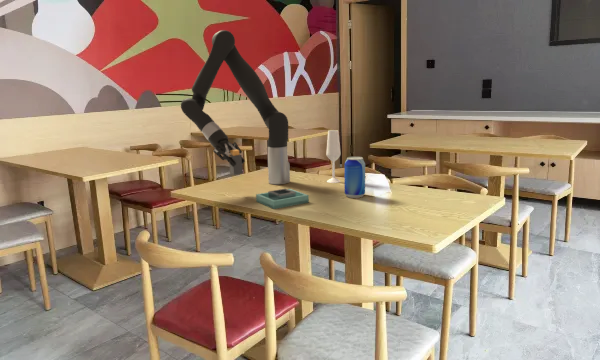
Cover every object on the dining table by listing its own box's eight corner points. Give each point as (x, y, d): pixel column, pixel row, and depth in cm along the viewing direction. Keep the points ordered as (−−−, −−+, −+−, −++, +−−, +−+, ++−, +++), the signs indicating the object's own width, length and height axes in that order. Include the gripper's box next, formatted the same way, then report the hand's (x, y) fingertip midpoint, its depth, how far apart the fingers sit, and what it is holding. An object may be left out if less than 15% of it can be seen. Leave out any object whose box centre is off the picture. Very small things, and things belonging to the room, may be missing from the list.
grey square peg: (238, 172, 211) (236, 149, 208) (242, 173, 207) (241, 150, 205) (230, 173, 209) (228, 150, 206) (234, 174, 205) (232, 151, 203)
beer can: (341, 197, 201) (341, 159, 198) (349, 192, 208) (349, 155, 205) (360, 199, 197) (360, 160, 194) (367, 194, 204) (368, 156, 201)
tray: (290, 195, 206) (289, 188, 205) (308, 202, 194) (308, 195, 193) (256, 201, 197) (256, 194, 196) (273, 209, 186) (273, 201, 185)
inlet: (285, 195, 201) (285, 188, 200) (296, 199, 194) (295, 192, 194) (268, 198, 197) (268, 191, 196) (278, 202, 190) (278, 195, 189)
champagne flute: (339, 183, 227) (339, 131, 222) (325, 182, 228) (325, 131, 223) (341, 180, 233) (341, 129, 228) (327, 179, 235) (327, 129, 230)
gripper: (208, 130, 201) (233, 161, 198) (229, 126, 214) (253, 155, 210) (199, 143, 205) (224, 173, 202) (220, 138, 217) (244, 166, 214)
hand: (239, 163), depth 206 cm, fingers closed on grey square peg, 5 cm apart
